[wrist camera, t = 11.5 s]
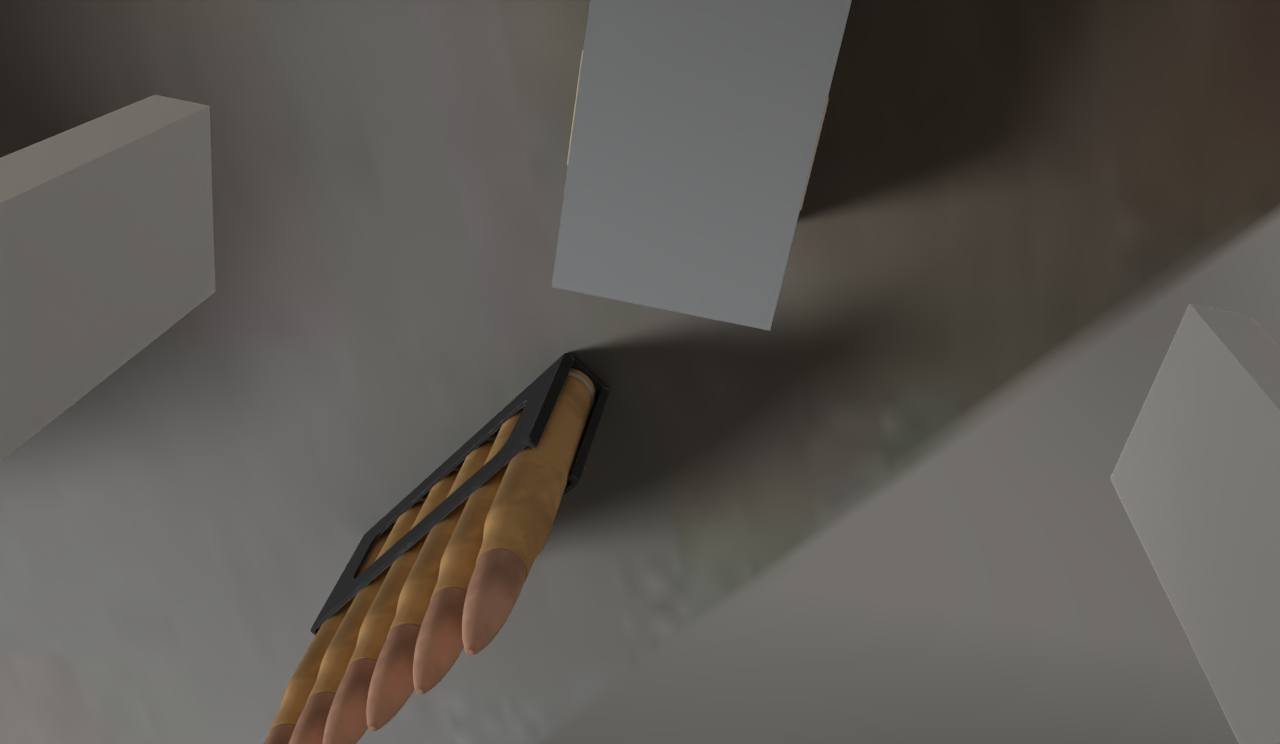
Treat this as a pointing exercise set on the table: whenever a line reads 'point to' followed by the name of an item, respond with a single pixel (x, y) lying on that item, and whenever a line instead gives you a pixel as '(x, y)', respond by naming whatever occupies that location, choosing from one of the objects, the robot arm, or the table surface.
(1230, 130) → the table surface
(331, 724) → the ammunition clip
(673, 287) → the grey taped box
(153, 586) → the table surface
